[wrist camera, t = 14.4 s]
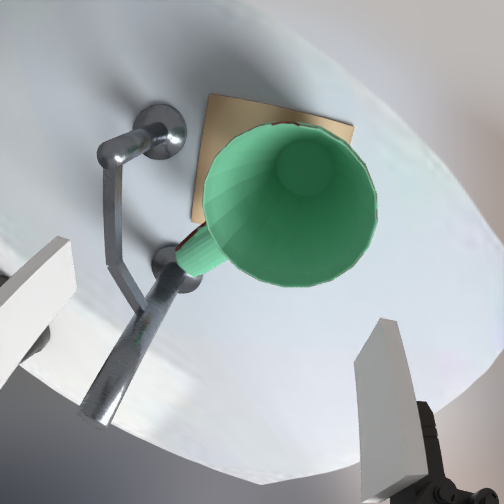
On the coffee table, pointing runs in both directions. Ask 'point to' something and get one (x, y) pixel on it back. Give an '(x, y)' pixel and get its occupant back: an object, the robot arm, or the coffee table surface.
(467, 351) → the coffee table surface
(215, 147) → the coaster
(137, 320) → the metal wall bracket
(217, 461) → the coffee table surface
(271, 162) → the mug
